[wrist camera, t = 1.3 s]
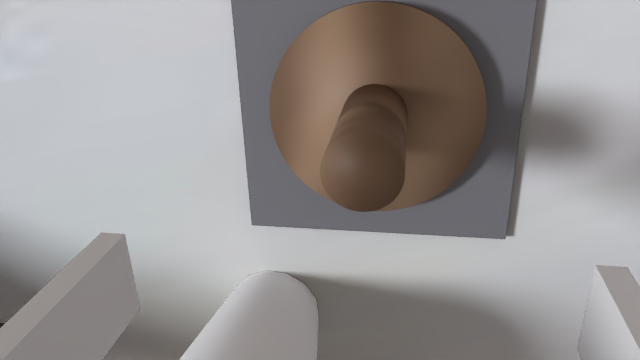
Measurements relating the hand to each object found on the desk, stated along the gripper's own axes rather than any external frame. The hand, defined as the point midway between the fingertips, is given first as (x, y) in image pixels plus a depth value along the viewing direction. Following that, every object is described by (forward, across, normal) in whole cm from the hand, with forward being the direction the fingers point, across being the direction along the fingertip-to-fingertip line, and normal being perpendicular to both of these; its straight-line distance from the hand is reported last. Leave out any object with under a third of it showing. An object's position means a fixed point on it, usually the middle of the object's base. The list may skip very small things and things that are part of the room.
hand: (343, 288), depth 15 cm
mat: (+18, 0, 0) cm, 18 cm away
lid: (+17, 0, 0) cm, 17 cm away
